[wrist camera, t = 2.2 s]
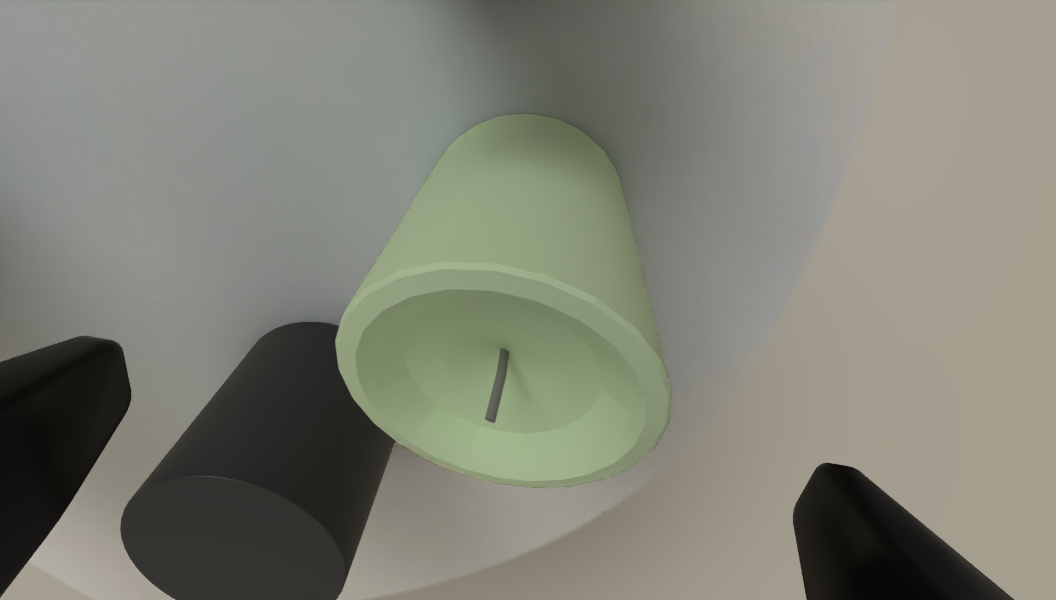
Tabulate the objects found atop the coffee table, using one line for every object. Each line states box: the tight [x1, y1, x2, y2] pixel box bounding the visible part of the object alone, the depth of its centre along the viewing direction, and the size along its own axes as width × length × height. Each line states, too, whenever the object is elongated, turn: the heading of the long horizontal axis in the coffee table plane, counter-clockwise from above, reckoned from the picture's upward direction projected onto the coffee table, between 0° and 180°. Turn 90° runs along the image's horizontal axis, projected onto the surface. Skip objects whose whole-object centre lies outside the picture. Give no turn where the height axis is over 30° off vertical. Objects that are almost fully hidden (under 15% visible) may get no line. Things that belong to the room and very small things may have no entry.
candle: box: [335, 113, 672, 488], centre depth 12 cm, size 5×5×8 cm
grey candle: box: [120, 322, 395, 600], centre depth 16 cm, size 5×5×6 cm
